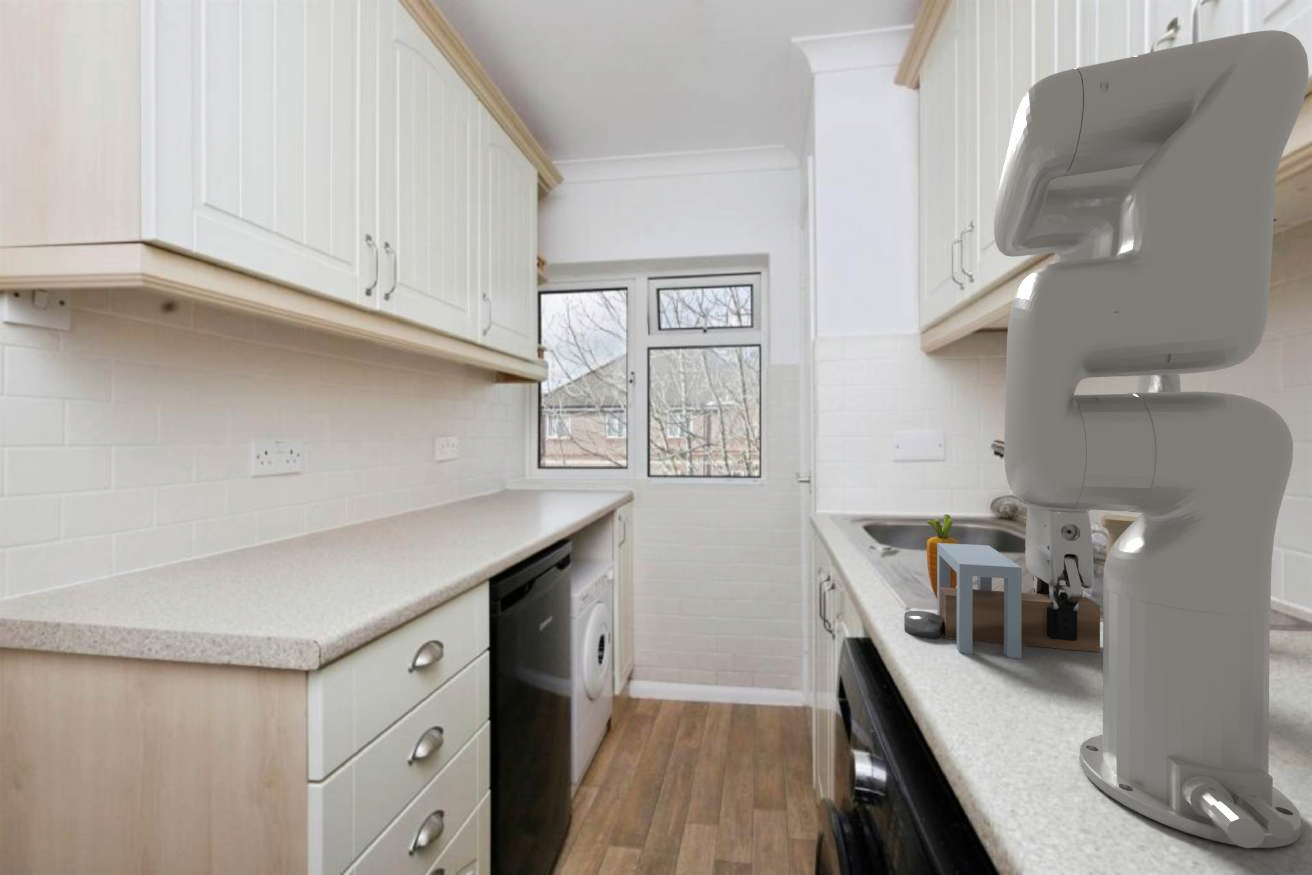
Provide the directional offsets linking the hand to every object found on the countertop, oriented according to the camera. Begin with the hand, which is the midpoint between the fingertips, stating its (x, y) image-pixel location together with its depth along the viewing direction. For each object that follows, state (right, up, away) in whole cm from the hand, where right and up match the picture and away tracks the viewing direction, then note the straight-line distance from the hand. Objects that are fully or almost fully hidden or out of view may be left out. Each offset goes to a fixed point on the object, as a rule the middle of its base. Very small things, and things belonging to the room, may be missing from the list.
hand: (1054, 631), depth 75 cm
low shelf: (-9, -2, +3) cm, 10 cm away
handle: (+19, -2, +12) cm, 23 cm away
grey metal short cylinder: (-16, -2, +4) cm, 16 cm away
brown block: (-4, -2, +1) cm, 5 cm away
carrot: (-7, -2, +16) cm, 17 cm away
